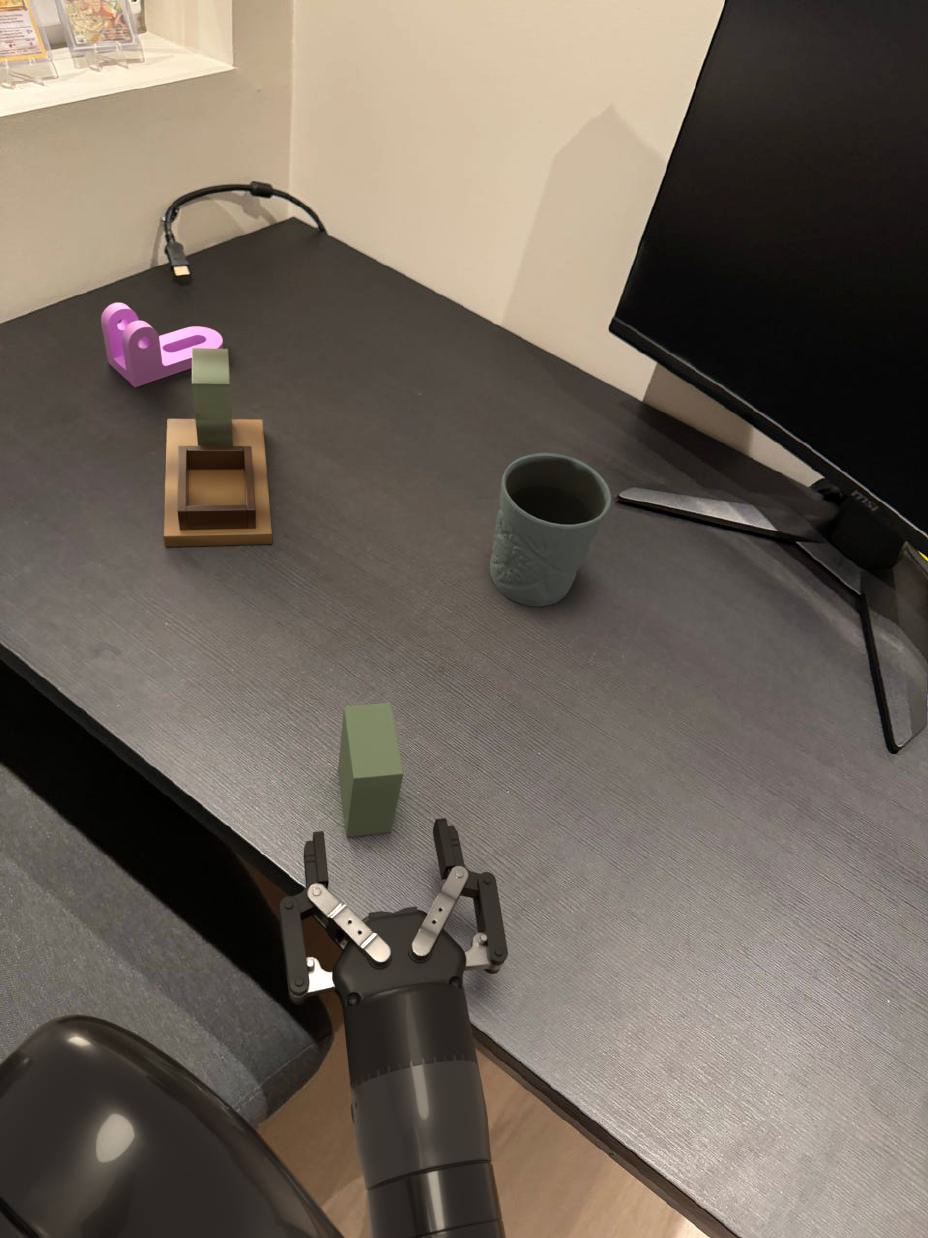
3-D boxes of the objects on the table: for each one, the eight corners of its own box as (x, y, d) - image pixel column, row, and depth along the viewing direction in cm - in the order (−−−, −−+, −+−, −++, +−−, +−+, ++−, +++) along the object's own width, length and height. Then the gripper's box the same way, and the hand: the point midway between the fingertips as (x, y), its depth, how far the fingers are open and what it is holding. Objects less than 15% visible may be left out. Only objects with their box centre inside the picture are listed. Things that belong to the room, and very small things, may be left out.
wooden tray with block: (272, 544, 83) (271, 460, 75) (165, 547, 81) (152, 461, 73) (262, 430, 94) (260, 346, 86) (168, 429, 92) (157, 343, 84)
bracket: (134, 387, 95) (126, 332, 90) (108, 362, 97) (98, 307, 92) (232, 354, 102) (229, 300, 97) (205, 331, 104) (201, 278, 99)
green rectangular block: (391, 832, 65) (403, 773, 59) (346, 837, 64) (353, 778, 58) (380, 765, 69) (391, 702, 62) (337, 769, 68) (343, 706, 61)
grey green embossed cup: (586, 561, 89) (620, 472, 80) (565, 627, 82) (599, 539, 73) (495, 530, 90) (519, 439, 81) (467, 594, 83) (489, 502, 74)
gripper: (547, 1047, 48) (486, 793, 58) (292, 1095, 44) (274, 815, 54) (519, 1078, 54) (468, 841, 63) (291, 1122, 50) (275, 864, 60)
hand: (379, 829), depth 59 cm, fingers open, 8 cm apart
